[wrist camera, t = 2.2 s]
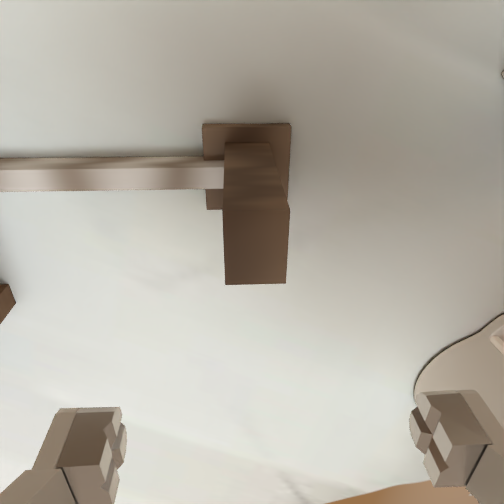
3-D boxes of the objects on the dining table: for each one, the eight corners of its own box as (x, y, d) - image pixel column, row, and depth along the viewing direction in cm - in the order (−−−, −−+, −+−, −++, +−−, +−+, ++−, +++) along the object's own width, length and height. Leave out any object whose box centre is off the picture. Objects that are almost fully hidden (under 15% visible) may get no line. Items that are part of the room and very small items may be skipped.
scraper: (289, 115, 27) (326, 177, 17) (284, 208, 31) (313, 306, 20) (-80, 118, 26) (-282, 185, 16) (-40, 214, 30) (-182, 320, 19)
